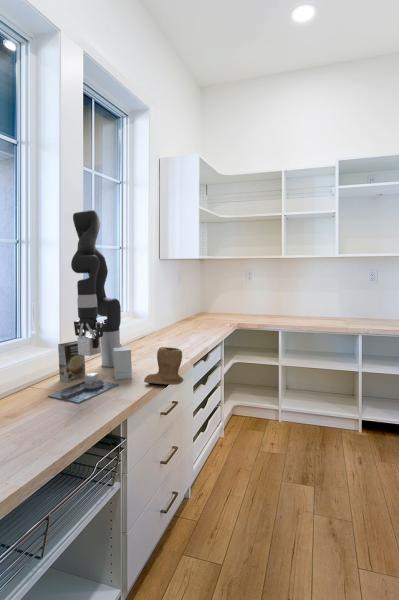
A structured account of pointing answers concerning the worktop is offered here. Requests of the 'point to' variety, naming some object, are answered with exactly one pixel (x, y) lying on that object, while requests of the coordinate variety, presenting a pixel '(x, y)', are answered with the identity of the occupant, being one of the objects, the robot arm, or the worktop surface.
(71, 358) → the coffee box
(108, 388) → the grey base plate
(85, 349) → the brushed steel cube
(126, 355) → the supplement box
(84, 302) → the robot arm
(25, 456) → the worktop surface
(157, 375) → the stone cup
